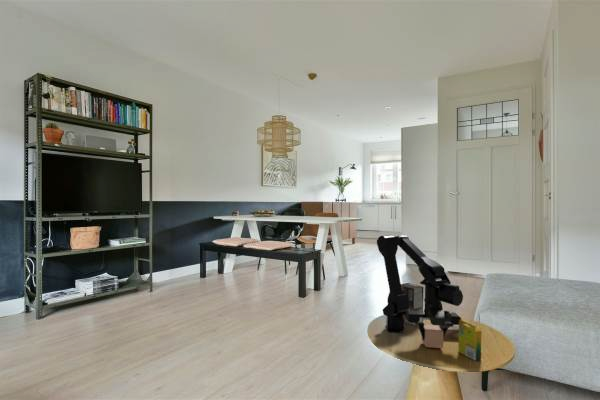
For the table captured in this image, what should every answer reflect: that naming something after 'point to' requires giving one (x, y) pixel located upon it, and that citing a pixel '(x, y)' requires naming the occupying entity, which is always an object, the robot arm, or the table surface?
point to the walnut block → (452, 332)
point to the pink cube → (433, 336)
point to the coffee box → (413, 298)
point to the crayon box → (469, 340)
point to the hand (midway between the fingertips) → (432, 340)
